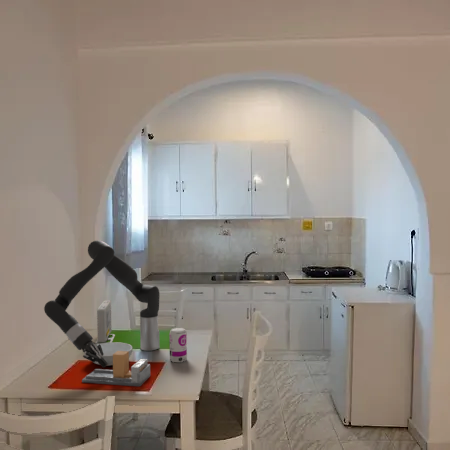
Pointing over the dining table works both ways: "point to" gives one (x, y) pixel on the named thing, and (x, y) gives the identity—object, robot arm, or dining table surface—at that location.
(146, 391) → the dining table surface
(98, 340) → the network device
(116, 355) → the block
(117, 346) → the serving bowl
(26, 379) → the dining table surface
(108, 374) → the rail
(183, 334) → the supplement can
